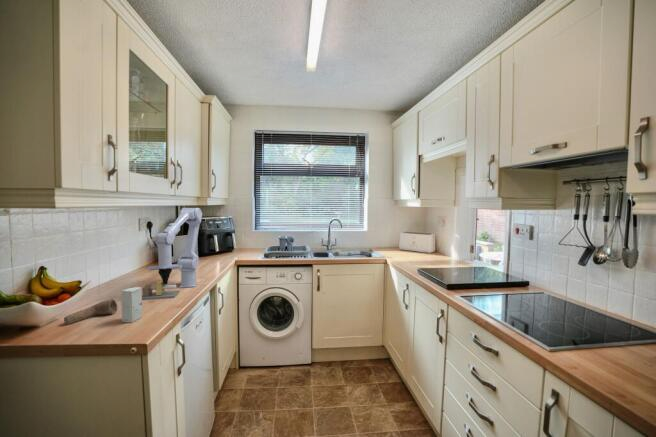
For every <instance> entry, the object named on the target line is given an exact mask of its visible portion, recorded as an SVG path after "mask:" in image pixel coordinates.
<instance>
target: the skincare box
mask: <svg viewBox="0 0 656 437" xmlns="http://www.w3.org/2000/svg"><path fill="white" fill-rule="evenodd" d="M142 296H143V292H142V287H141V286H138V287H137V286H135V287H134V286H133V287H129V288H126V289H123V290H121V291H120V300H121V305H120V306H121V322H122V323H133V322H135V321H137V320H139V319H141V318H143V300H142Z"/></svg>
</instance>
